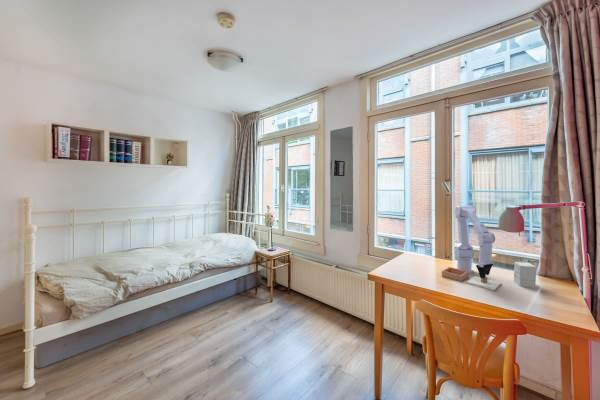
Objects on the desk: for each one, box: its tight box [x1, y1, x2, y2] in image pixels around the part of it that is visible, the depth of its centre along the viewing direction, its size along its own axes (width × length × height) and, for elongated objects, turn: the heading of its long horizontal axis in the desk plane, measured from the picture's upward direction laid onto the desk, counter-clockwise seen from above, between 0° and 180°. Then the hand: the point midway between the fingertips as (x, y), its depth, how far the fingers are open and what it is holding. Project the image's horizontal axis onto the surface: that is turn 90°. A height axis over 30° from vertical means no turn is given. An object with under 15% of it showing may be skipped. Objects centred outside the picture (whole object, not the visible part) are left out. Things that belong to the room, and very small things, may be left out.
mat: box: [466, 282, 503, 292], centre depth 145 cm, size 14×14×1 cm
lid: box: [466, 275, 502, 292], centre depth 145 cm, size 13×13×4 cm
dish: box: [441, 266, 469, 282], centre depth 156 cm, size 11×11×4 cm
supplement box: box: [513, 261, 537, 289], centre depth 143 cm, size 7×7×13 cm
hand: (484, 276), depth 144 cm, fingers open, 7 cm apart
